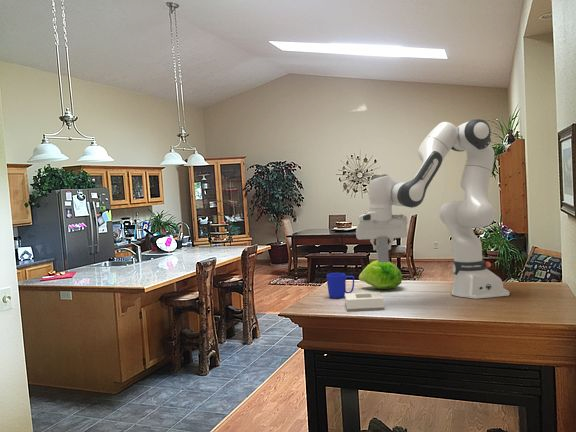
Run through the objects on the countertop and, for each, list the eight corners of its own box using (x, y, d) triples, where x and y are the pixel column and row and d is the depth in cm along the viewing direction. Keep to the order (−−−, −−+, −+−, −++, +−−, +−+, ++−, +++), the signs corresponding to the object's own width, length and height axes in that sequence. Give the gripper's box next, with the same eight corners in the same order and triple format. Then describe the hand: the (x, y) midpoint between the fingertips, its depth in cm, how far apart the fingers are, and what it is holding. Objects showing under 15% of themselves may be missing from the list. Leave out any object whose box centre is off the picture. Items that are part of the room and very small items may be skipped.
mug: (354, 299, 215) (353, 275, 214) (326, 299, 217) (325, 276, 217) (355, 294, 223) (354, 272, 222) (328, 295, 225) (327, 273, 225)
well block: (380, 302, 205) (379, 291, 205) (384, 309, 193) (383, 298, 193) (345, 304, 206) (344, 293, 206) (347, 311, 194) (346, 300, 194)
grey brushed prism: (387, 260, 206) (386, 235, 205) (388, 262, 201) (387, 236, 200) (377, 260, 206) (376, 236, 205) (378, 262, 201) (377, 237, 200)
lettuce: (366, 284, 244) (365, 256, 243) (407, 286, 234) (406, 257, 233) (354, 291, 230) (353, 261, 229) (397, 293, 220) (396, 262, 220)
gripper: (405, 213, 205) (407, 247, 206) (355, 216, 206) (356, 249, 207) (408, 214, 199) (409, 249, 199) (356, 217, 200) (357, 251, 201)
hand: (382, 249), depth 203 cm, fingers closed on grey brushed prism, 4 cm apart
